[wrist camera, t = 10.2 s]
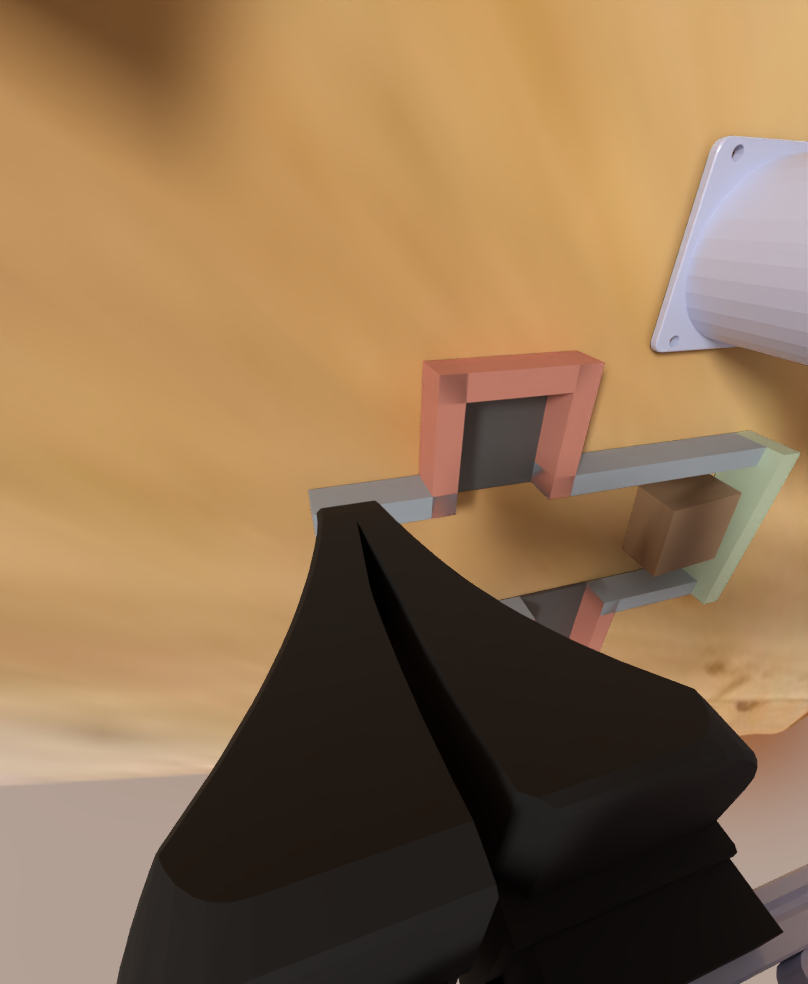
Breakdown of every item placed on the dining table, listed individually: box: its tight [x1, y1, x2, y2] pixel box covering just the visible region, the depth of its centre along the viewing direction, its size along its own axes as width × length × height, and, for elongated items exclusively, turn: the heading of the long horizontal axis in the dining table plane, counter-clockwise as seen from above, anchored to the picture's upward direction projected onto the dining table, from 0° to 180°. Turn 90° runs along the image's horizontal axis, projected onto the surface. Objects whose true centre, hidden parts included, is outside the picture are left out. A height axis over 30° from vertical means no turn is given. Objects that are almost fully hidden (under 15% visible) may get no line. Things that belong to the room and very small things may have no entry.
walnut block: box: [622, 474, 742, 577], centre depth 27 cm, size 4×5×3 cm
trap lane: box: [308, 351, 801, 652], centre depth 25 cm, size 26×22×3 cm
